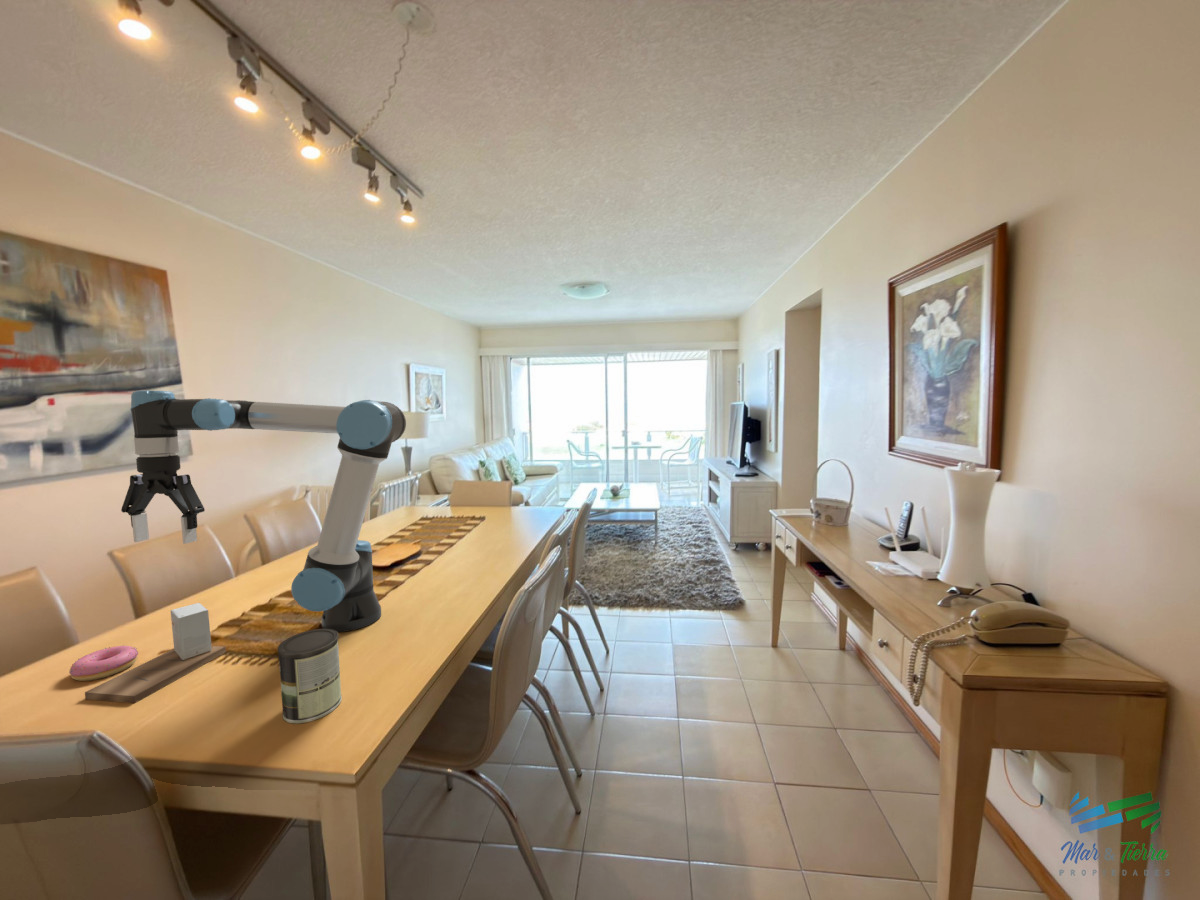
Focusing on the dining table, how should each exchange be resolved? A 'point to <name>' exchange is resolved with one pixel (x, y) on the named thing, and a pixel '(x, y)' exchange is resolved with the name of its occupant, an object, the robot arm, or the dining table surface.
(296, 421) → the robot arm
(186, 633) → the small box
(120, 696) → the board
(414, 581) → the dining table surface
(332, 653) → the coffee can
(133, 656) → the doughnut
